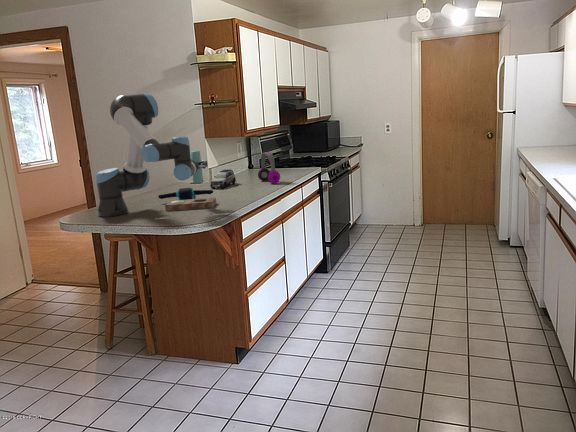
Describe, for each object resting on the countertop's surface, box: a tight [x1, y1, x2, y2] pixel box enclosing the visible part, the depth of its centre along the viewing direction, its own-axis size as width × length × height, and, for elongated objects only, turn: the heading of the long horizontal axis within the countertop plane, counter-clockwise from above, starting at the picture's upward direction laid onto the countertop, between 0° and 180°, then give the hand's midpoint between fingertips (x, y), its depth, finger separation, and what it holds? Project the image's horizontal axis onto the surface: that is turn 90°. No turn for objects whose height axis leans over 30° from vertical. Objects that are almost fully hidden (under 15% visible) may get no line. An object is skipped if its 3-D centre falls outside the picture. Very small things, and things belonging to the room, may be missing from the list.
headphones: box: [257, 151, 281, 185], centre depth 331 cm, size 21×9×20 cm, turn 25°
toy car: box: [209, 168, 237, 189], centre depth 330 cm, size 13×24×10 cm, turn 172°
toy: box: [157, 187, 214, 200], centre depth 289 cm, size 31×8×30 cm
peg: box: [190, 150, 204, 184], centre depth 256 cm, size 5×5×16 cm
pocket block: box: [164, 197, 217, 212], centre depth 261 cm, size 24×12×4 cm, turn 88°
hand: (198, 162), depth 261 cm, fingers closed on peg, 5 cm apart
